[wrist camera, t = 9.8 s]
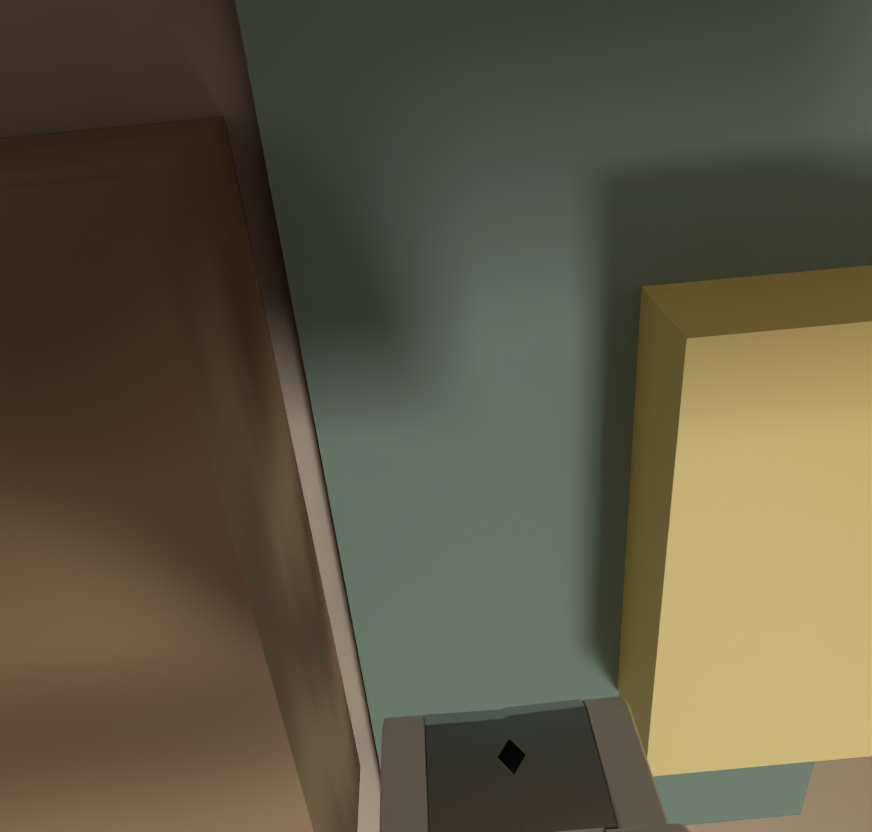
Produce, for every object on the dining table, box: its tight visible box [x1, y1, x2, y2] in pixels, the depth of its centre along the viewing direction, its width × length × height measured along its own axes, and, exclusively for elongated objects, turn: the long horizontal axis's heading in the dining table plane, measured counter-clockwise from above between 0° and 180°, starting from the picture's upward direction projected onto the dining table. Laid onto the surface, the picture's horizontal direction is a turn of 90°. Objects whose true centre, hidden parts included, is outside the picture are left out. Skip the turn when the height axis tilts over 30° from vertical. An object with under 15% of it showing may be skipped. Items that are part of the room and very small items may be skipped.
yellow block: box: [618, 265, 872, 776], centre depth 13 cm, size 9×6×2 cm, turn 5°
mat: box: [235, 0, 872, 825], centre depth 13 cm, size 20×10×1 cm, turn 5°
